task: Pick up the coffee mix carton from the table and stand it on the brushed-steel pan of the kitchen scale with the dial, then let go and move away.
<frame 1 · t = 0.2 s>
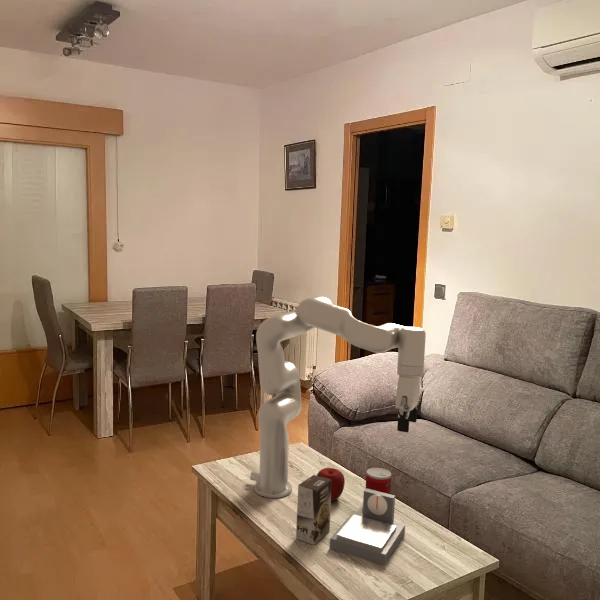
hand: (407, 426, 169), 31 cm above the table, tool pointing down, fingers open, 9 cm apart
apple: (329, 499, 189), on the table
canned food: (377, 505, 185), on the table
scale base: (368, 541, 164), on the table
coffee box: (313, 535, 166), on the table
scale pan: (366, 531, 162), point 3 cm above the table, slide at 0.6 cm, touching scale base
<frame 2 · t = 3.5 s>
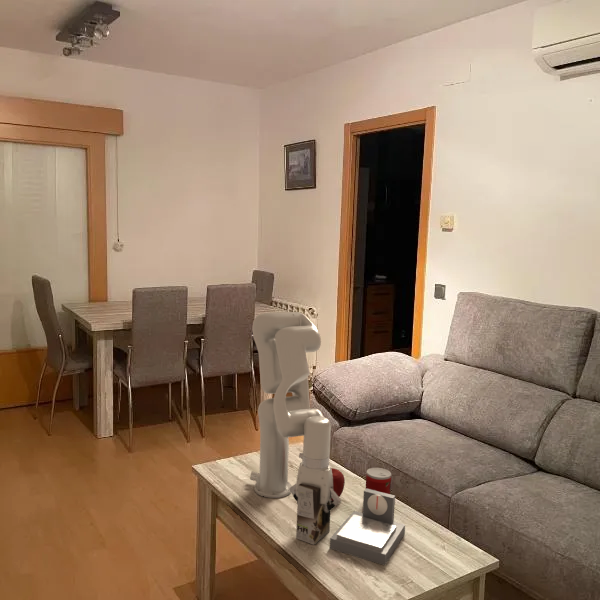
hand: (313, 519, 165), 5 cm above the table, tool pointing down, fingers closed on coffee box, 6 cm apart
coffee box: (313, 535, 166), on the table, touching gripper
everything else where it was.
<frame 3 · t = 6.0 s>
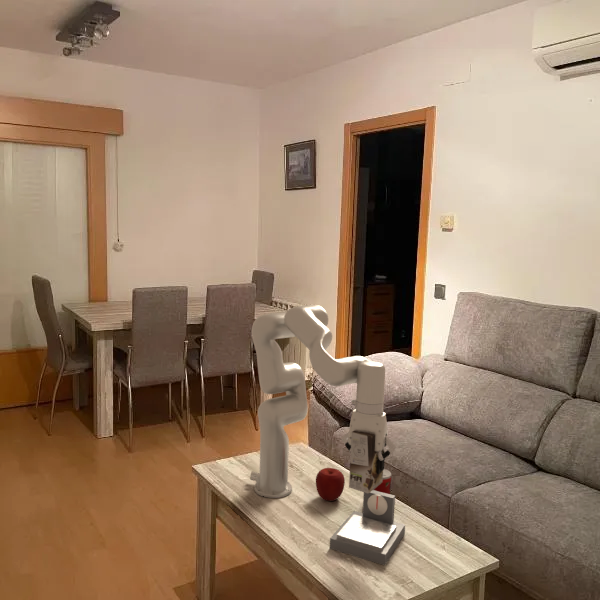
hand: (366, 468, 160), 22 cm above the table, tool pointing down, fingers closed on coffee box, 6 cm apart
coffee box: (366, 485, 160), point 17 cm above the table, touching gripper
everything else where it was.
when the fingers open (10 cm above the table, at t = 8.7 s): coffee box drops 2 cm, resting on scale pan.
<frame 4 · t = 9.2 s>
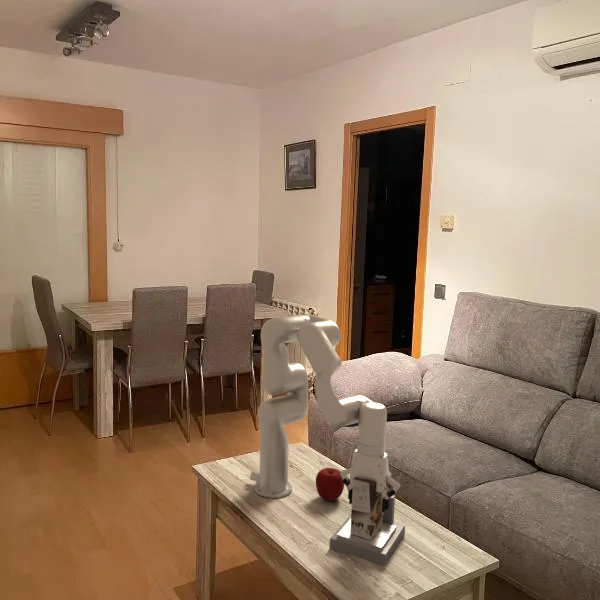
hand: (368, 506, 161), 11 cm above the table, tool pointing down, fingers open, 9 cm apart
coffee box: (366, 530, 162), point 4 cm above the table, touching scale pan
scale pan: (366, 531, 162), point 3 cm above the table, slide at 0.6 cm, touching coffee box, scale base
everything else where it was.
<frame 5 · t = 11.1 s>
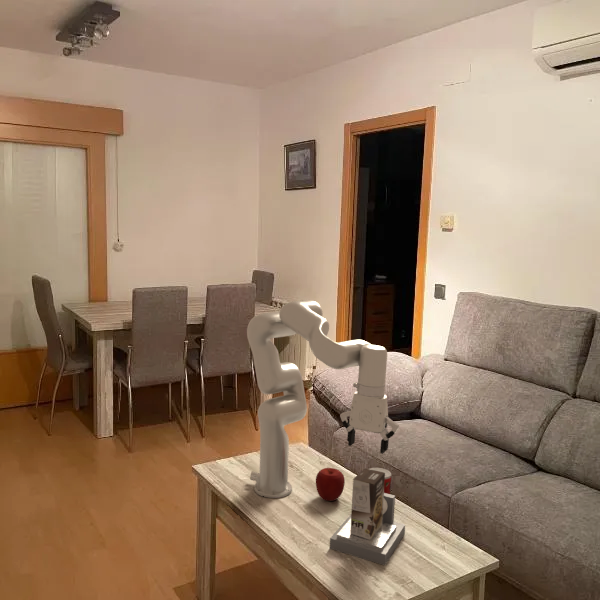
hand: (367, 448, 163), 27 cm above the table, tool pointing down, fingers open, 9 cm apart
nothing on the table moved.
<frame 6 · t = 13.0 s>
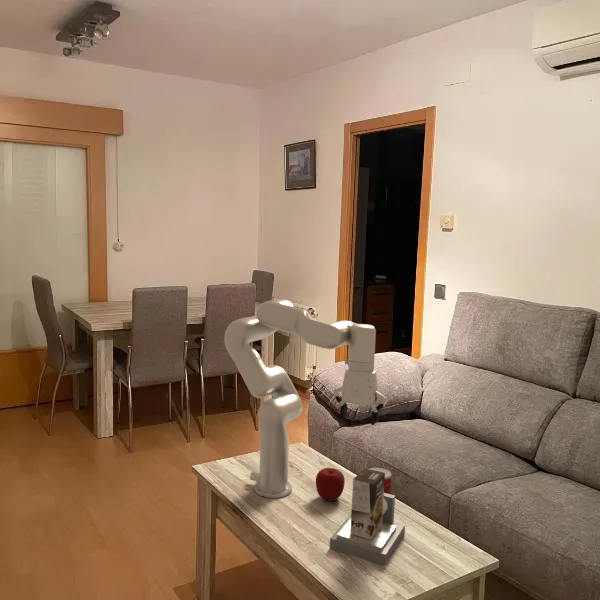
hand: (358, 420, 174), 30 cm above the table, tool pointing down, fingers open, 9 cm apart
nothing on the table moved.
at the end: coffee box inside the target area on the scale pan (0.2 cm from its centre), point 4.4 cm above the scale pan's base; coffee box tilted 0°; the gripper is holding nothing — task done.
